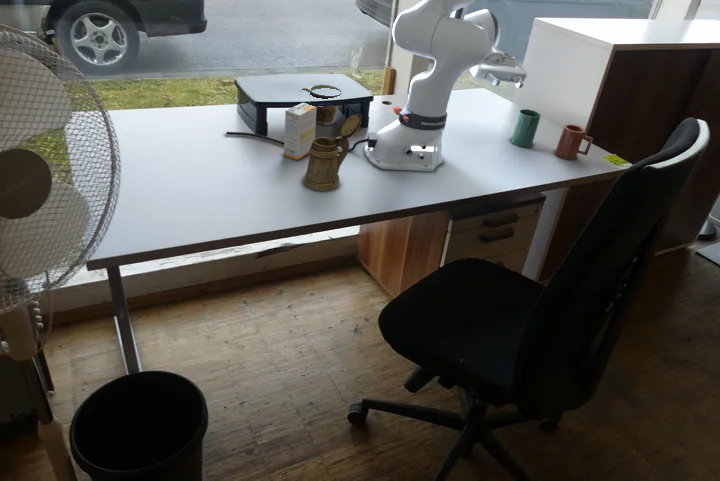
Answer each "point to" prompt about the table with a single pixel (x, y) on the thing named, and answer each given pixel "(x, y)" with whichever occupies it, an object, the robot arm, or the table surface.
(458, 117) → the table surface
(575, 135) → the mug
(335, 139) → the wooden mug
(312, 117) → the supplement box
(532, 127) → the green mug
